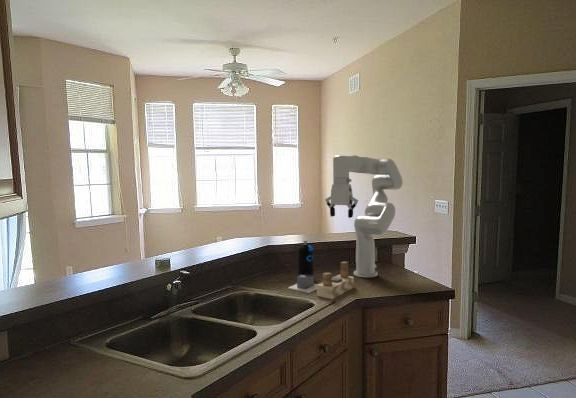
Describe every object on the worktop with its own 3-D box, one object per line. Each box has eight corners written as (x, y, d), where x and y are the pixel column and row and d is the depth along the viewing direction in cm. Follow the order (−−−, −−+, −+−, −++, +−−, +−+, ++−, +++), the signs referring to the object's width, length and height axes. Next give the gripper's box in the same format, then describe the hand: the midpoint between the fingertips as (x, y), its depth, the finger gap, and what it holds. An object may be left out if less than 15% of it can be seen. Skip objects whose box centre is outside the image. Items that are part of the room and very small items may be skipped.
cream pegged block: (339, 284, 185) (338, 260, 185) (353, 287, 181) (353, 262, 180) (316, 295, 170) (316, 269, 169) (332, 299, 165) (332, 272, 164)
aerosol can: (295, 280, 194) (295, 241, 192) (301, 276, 201) (300, 238, 200) (310, 281, 191) (310, 242, 189) (315, 277, 198) (315, 239, 197)
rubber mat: (302, 282, 190) (302, 281, 190) (322, 286, 183) (322, 285, 183) (288, 288, 181) (288, 287, 181) (308, 293, 173) (308, 292, 173)
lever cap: (305, 283, 186) (305, 272, 186) (314, 285, 183) (313, 273, 183) (297, 287, 180) (297, 275, 180) (305, 289, 177) (305, 277, 177)
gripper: (361, 181, 180) (361, 217, 181) (329, 181, 190) (329, 215, 191) (353, 181, 174) (354, 218, 175) (321, 181, 184) (322, 216, 185)
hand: (341, 216), depth 183 cm, fingers open, 9 cm apart
